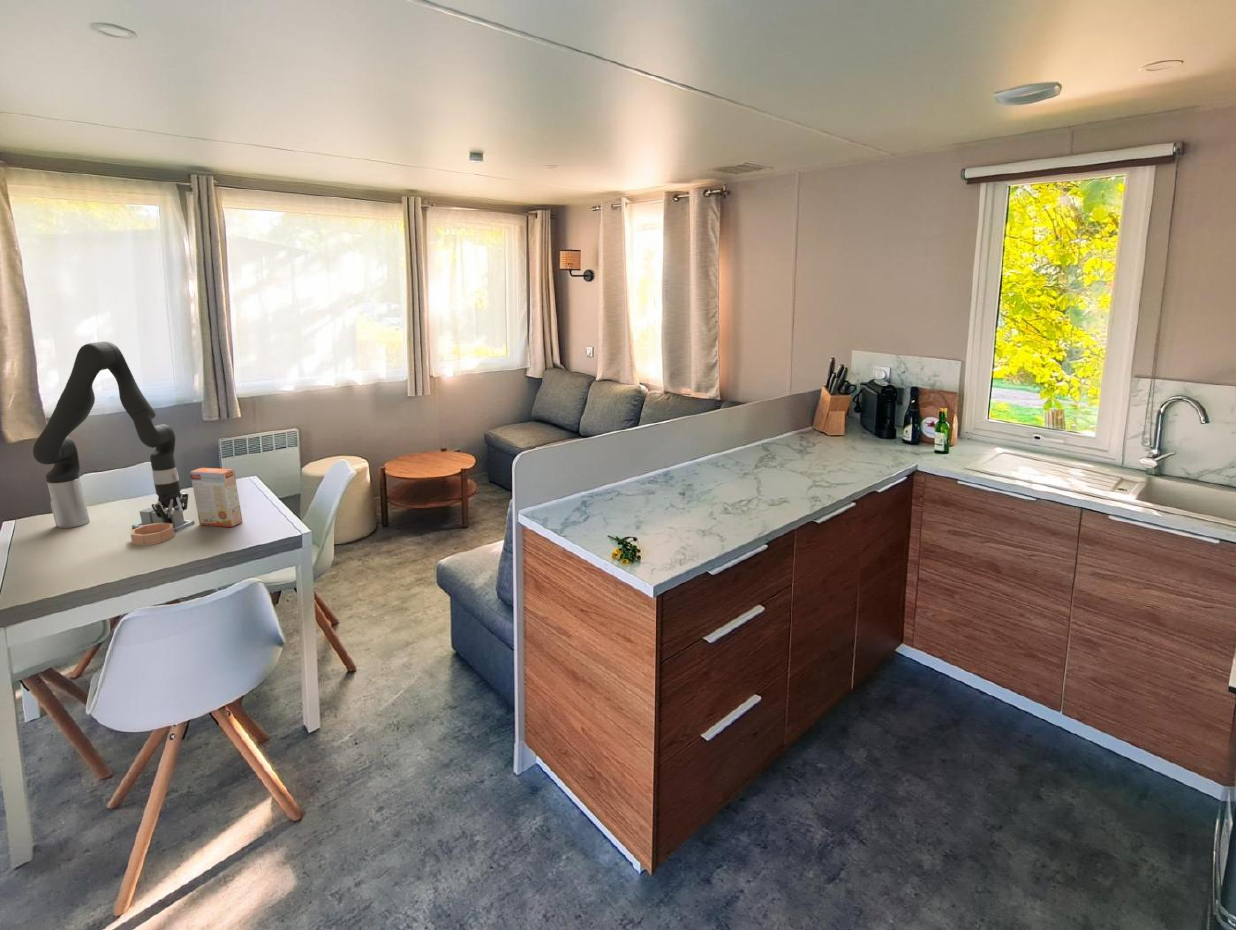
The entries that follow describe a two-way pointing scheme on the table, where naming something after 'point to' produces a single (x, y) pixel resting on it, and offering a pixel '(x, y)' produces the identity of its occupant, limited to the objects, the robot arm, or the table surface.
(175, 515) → the grey rectangular block
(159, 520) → the gray rectangular block
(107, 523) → the table surface
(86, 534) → the table surface
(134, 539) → the bowl
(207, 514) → the cracker box
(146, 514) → the gray block
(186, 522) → the tray
